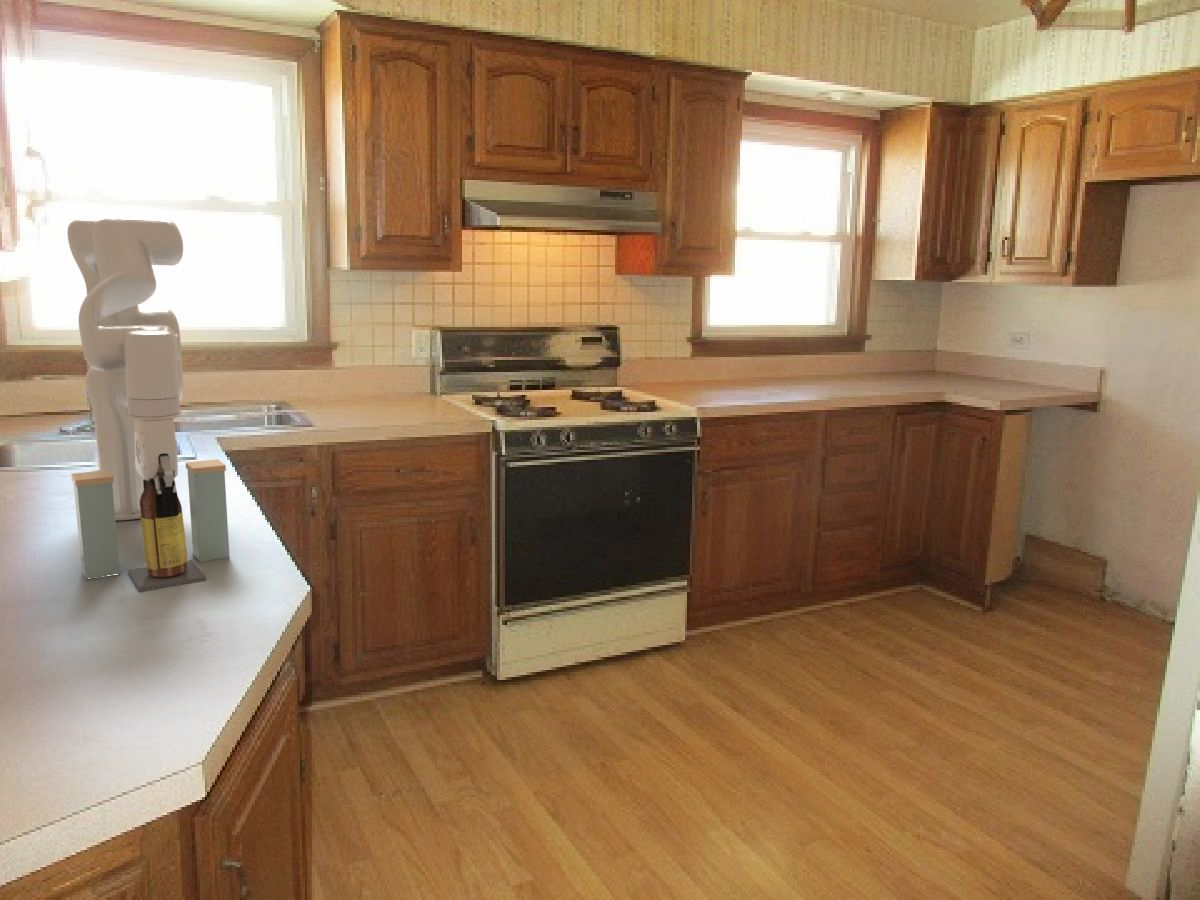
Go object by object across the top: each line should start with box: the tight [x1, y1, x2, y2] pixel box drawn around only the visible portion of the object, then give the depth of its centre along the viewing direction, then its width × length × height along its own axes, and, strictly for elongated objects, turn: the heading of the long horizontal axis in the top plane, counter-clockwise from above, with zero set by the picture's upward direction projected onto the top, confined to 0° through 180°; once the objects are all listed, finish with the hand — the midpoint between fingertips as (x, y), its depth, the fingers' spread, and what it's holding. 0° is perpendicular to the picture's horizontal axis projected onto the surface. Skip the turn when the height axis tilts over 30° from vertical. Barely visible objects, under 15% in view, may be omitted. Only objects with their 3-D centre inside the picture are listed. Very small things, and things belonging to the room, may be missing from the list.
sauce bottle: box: [140, 463, 189, 578], centre depth 145 cm, size 7×6×20 cm
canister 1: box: [70, 470, 121, 580], centre depth 146 cm, size 5×5×17 cm
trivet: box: [127, 559, 207, 592], centre depth 147 cm, size 10×10×1 cm
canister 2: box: [185, 458, 230, 562], centre depth 156 cm, size 5×5×17 cm
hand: (161, 509), depth 145 cm, fingers open, 9 cm apart
